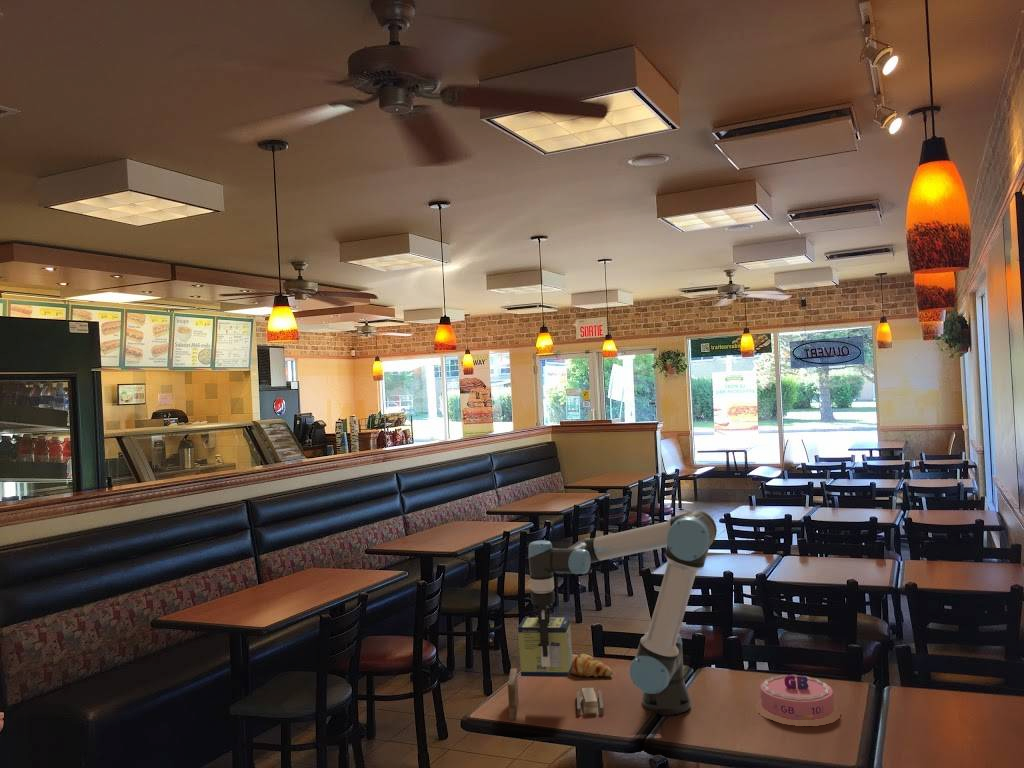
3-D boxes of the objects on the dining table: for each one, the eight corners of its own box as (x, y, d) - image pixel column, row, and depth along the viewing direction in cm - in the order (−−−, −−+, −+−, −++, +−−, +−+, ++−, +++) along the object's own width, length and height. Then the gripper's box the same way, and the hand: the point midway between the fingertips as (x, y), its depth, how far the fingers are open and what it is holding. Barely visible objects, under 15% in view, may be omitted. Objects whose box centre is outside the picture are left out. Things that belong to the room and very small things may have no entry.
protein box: (525, 664, 258) (523, 617, 258) (573, 665, 255) (570, 617, 255) (519, 676, 248) (517, 626, 248) (569, 677, 245) (566, 627, 245)
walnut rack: (601, 699, 257) (599, 665, 257) (603, 717, 243) (601, 681, 243) (512, 702, 259) (510, 668, 259) (509, 720, 245) (507, 684, 245)
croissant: (616, 684, 279) (620, 661, 282) (605, 680, 271) (609, 656, 274) (562, 674, 290) (566, 652, 293) (550, 670, 282) (555, 647, 285)
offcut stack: (596, 697, 257) (595, 686, 257) (597, 713, 245) (597, 701, 245) (582, 698, 257) (581, 687, 257) (583, 713, 245) (582, 701, 245)
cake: (755, 725, 233) (753, 689, 233) (753, 692, 257) (751, 659, 257) (846, 730, 227) (844, 693, 227) (836, 696, 251) (834, 662, 251)
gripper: (532, 581, 264) (535, 647, 263) (529, 601, 240) (533, 673, 240) (554, 580, 263) (558, 647, 263) (553, 600, 240) (558, 672, 240)
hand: (546, 659), depth 252 cm, fingers closed on protein box, 11 cm apart
